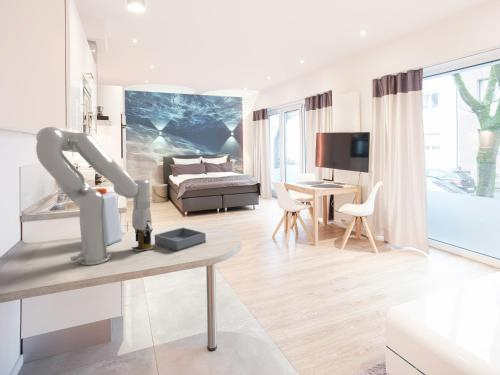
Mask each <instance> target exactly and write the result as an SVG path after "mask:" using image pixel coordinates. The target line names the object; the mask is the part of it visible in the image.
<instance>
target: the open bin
mask: <svg viewBox="0 0 500 375" xmlns="http://www.w3.org/2000/svg"><path fill="white" fill-rule="evenodd" d="M206 237H207V236H206V232H203V231H200V230H199V231H198V230H194V229H190V228H187V227H180V228H176V229H172V230H168V231H165V232H160V233H157V234H154V245H155V246H158V247H162V248H164V249H167V250H169V251H170V250H171V251H174V252H177V253H179V252H181V251H183V250H188V249H190V248H193V247H196V246H200V245H202V244H205V243H206V242H207V240H206Z"/></svg>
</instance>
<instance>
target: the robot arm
mask: <svg viewBox="0 0 500 375" xmlns="http://www.w3.org/2000/svg"><path fill="white" fill-rule="evenodd" d="M35 138H36V141H37V142H36V148H35V152H36V157H37V159H38V162H40V164H41V165H42V167H43V168H44V169H45V170H46V171H47V172H48V174H50V176H52V178H54V180H55V184H56V185H57V187H58V188H59V189H60V190H61V191H62V192H63V193H64V195H65V196H67V197H68V198H69V199H70V200H71V201H72V202H73V203H74V204H75V205H76V206H77V207H79V227H80V239H81V249H82V251H79V253H78V255H73V256H70V262H75V261H76V262H79V264H81V265H83V266H95V265H100V264H104V263H106V262H108V261H110V260H111V259H112V255H111V253H107V252H108V250H107V246H106V235H105V224H104V198H103V196H102V194H101V193H100V192H99V191H97V190H95V189H96V188H92V186H90V185H89V184H88V183H87V182H86V180H85V177H84V175H83V174H82V172H80V171H79V170H78V169H77V168H76V167H75V166H74V165H73V163H71V162H70V160H69V159H68V158H67V157H66V156H65V154H64V152H70V153H71V152H72V153H78V154H79V155H80V156H81V157H82V159H83V160H84V161H85V162H86V163H87V164H88V165H89V166H90V167H91V168H92V169H93V170H94V171H95V173H98V175H101V176H102V177H104V178H105V179H107V180H108V181H109V182H110V183H111V184H112V185H113V190H114V193H115V194H116V195H118V196H120V197H124V198H126V199H129V198H130V199H131V198H132V203H133V208H132V216H131V223H132V224H131V226H132V228H133V229H134V233H135V241H136V242H138V230H142V231H143V232H144V236H143V237H144V244H148V243H150V235H151V236H152V232H153V226H152V214H151V195H150V194H151V190H150V189H151V188H150V187H151V186H150V181H149V180H148V179H142V178H141V179H140V178H139V179H133V178H132V177H131V176H130V175H129V174H128V173H127V171H125V169H123V168H122V167H121V166H120V165H119V164H118V163H117V162H116V161H115V160H114V159H112V157H111V156H110V155H109V154H108V153H107V152H106V151H105V150H104V149H103V148H102V146H101V145H100V144H99V143H98V142H97V140H96V139H95V138H94V137H93V136H92V135H91V134H89V133H87V132H73V131H65V130H60V129H59V128H58V127H54V126H47V127H44V128H42V129H39V131H38V132H36V137H35ZM146 228H148V229H146ZM146 230H148V231H147V232H146Z"/></svg>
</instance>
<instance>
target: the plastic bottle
mask: <svg viewBox="0 0 500 375" xmlns="http://www.w3.org/2000/svg"><path fill="white" fill-rule="evenodd" d="M94 189H95V190H97V191H99V192H100V193H101V194H102V196H103V198H104V224H105V235H106V247H108V246H110V245H111V246H112V245H113V244H115V243H118V242H120V241H122V239H123V233H122V225H121V219H120V218H121V217H120V214H119V213H120V212H119V207H118V206H119V205H118V198H117V194H116V193H110V192H108V191H107V189H106V188H101V187H100V188H94Z"/></svg>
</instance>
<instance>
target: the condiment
mask: <svg viewBox="0 0 500 375" xmlns="http://www.w3.org/2000/svg"><path fill="white" fill-rule="evenodd" d="M146 229H148V228H146ZM147 231H148V230H146V232H147ZM143 236H144V232H143V231H142V230H138V241H137V246H134V247H133V246H132V247H131V249H133V251H136V252H142V251H145V250H151V249H155V247H154V246H152V234H151V235H150V243H148V244H144V237H143Z"/></svg>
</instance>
